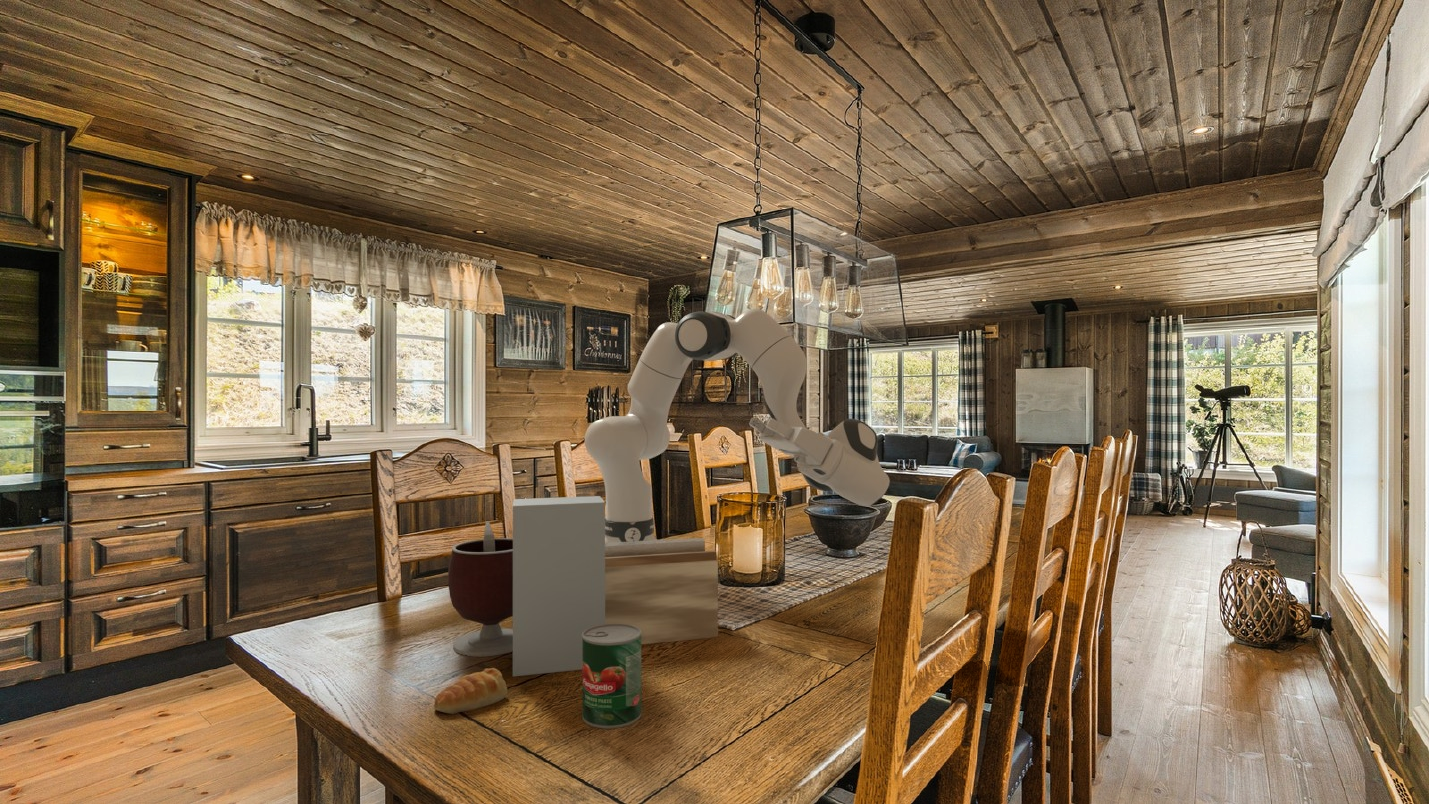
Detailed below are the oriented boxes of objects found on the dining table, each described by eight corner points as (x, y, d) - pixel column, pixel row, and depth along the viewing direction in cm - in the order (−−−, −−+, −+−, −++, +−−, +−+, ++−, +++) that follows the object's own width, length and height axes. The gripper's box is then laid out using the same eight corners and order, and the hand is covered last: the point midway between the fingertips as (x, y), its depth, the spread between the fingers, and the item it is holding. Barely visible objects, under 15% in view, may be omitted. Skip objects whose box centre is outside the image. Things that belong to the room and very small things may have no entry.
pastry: (449, 723, 88) (449, 693, 88) (423, 709, 93) (423, 681, 93) (511, 698, 96) (511, 671, 96) (484, 687, 100) (484, 661, 100)
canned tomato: (644, 702, 94) (644, 622, 94) (639, 728, 86) (639, 642, 86) (587, 702, 94) (587, 623, 94) (576, 729, 86) (576, 643, 86)
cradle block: (582, 629, 125) (582, 548, 125) (702, 618, 131) (702, 541, 131) (587, 649, 114) (587, 561, 114) (717, 637, 121) (717, 552, 121)
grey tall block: (513, 658, 111) (513, 499, 111) (599, 649, 114) (599, 496, 115) (512, 676, 103) (512, 506, 103) (605, 667, 107) (605, 502, 107)
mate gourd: (537, 651, 114) (537, 532, 114) (449, 663, 108) (449, 538, 109) (525, 624, 128) (525, 518, 128) (447, 633, 123) (447, 523, 123)
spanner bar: (593, 560, 122) (593, 543, 122) (700, 553, 127) (700, 537, 127) (595, 564, 119) (595, 546, 119) (704, 556, 124) (704, 540, 124)
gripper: (803, 439, 144) (749, 406, 140) (847, 444, 124) (786, 406, 121) (789, 465, 143) (735, 433, 139) (831, 474, 123) (769, 437, 120)
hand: (759, 421), depth 130 cm, fingers open, 8 cm apart
